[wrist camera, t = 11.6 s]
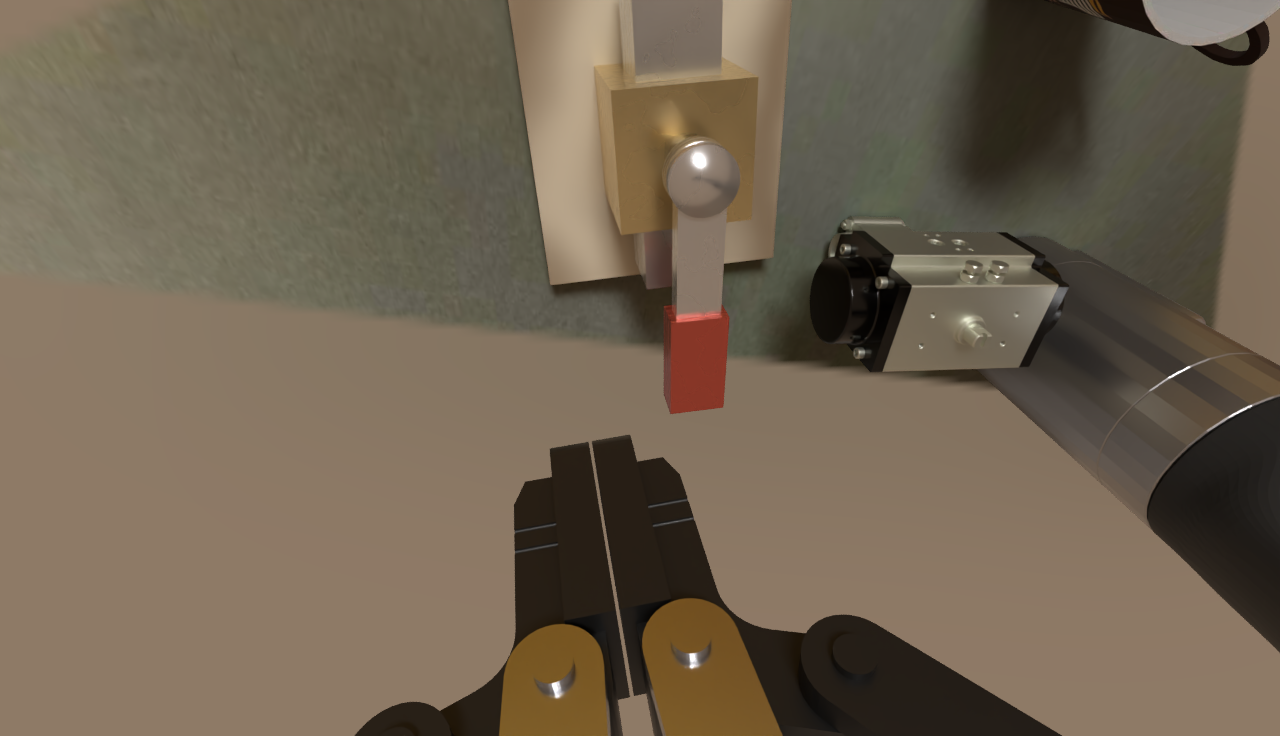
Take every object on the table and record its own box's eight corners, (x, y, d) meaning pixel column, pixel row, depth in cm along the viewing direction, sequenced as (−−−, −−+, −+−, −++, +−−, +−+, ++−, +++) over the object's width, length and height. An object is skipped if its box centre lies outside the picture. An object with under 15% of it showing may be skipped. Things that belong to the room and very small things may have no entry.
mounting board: (785, -77, 29) (797, -78, 28) (764, 247, 38) (773, 257, 37) (499, -59, 28) (499, -59, 26) (549, 273, 37) (550, 285, 35)
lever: (661, 137, 24) (670, 148, 23) (731, 132, 25) (743, 143, 23) (661, 394, 31) (668, 414, 30) (716, 388, 32) (725, 407, 30)
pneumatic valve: (936, 275, 41) (1068, 379, 32) (767, 275, 39) (853, 387, 29) (966, 192, 38) (1123, 278, 29) (785, 187, 36) (888, 279, 26)
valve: (719, -32, 28) (776, -24, 22) (715, 240, 36) (757, 301, 30) (586, -22, 28) (608, -12, 21) (610, 253, 35) (631, 318, 29)
